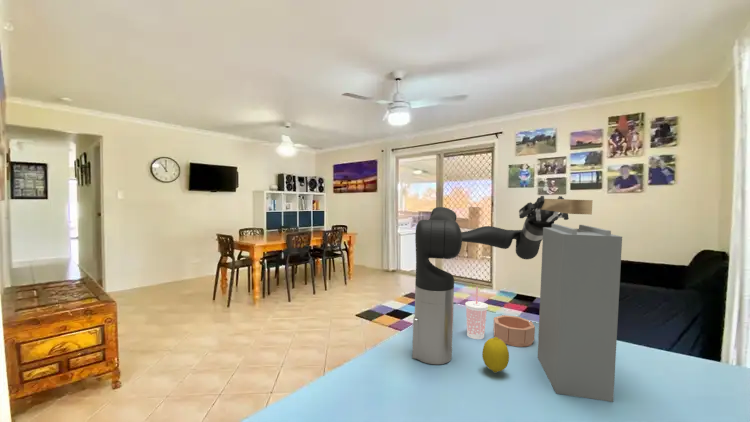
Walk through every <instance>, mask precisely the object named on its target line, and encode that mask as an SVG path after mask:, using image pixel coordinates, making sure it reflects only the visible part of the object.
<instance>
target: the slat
mask: <svg viewBox="0 0 750 422" xmlns="http://www.w3.org/2000/svg"><path fill="white" fill-rule="evenodd" d="M541 209H542V210H549V211H555V212H559V213H560V212H561V213H568V215H569V214H570V215H592V214H593V200H592V199H566V198H564V199H558V198H544V204H543V206H542V208H541Z"/></svg>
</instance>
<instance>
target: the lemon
mask: <svg viewBox="0 0 750 422" xmlns="http://www.w3.org/2000/svg"><path fill="white" fill-rule="evenodd" d="M481 356H482V360H483V363H484V365H485V366H486V368H488V369H489V370H491V371H492V372H493V374H495V373H496V374H497V373H498V372H502V371H504V370H505V369H506V368H507V367H508V365H509V361H510V354H509V348H508V345H507V344H505V343H504V342H503V341H502V340H500V339H498V337H494V336H493V337H491V338H489V339H487V340H486V341H485V342H484V345H483V348H482V355H481Z"/></svg>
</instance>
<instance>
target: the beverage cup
mask: <svg viewBox="0 0 750 422" xmlns="http://www.w3.org/2000/svg"><path fill="white" fill-rule="evenodd" d="M478 299H479V286H475V300H468V301H465V303H464V304H465V306H464V307H465V309H466V335H467V337H469V338H470V339H473V340H482V339H485V332H486V321H487V312H488V311H487V310H488V308H489V305H488V303H486V302H483V301H478Z"/></svg>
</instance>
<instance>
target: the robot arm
mask: <svg viewBox="0 0 750 422" xmlns="http://www.w3.org/2000/svg"><path fill="white" fill-rule="evenodd" d="M544 199H545V196H544V195H540V197H537V199H536V201H535V202H534V203H532V202H527V203H526V204H525V205H523V207H521V208H520V209H519V210H518V216H519V219H524V218H525V220H524V222H523V225H522V229H505V228H501V227H496V226H492V225H486V226H485V225H484V226H480V227H477V228H474V229H471V230H467V231H461V227H460V225H459V223H458V222H457V214H456V212H455V211H453V209H450V208H448V207H444V206H438V207H435V208H433V209H432V211H431V213H430V217H429V219H420V220H419V221H418V222H417V224H416V226H415V234H414V236H415V240H414V241H415V280H414V281H415V284H414V285H415V287H414V288H415V289H414V290H415V291H414V316H413V320H412V321H413V323H412V350H411V351H412V353H411V354H412V359H415V360H418V361H420V362H422V363H425V364H430V365H443V364H447V363H449V362H451V360H452V358H453V354H452V353H453V332H454V331H453V329H454V327H453V326H454V300H455V299H454V295H455V293H454V292H455V277H454V275H453V274H451V273H450V272H449V271H445V270H443V269H441V268H439V267H437V266H435V265H434V264H433V263H432V262H431V261H430V259H441V260H442V259H444V260H451V259H455V258H456V257H458V256H459V255H460V252H461V249H462V245H463V243H464V242H465V243H471V244H472V243H473V244H480V245H486V246H490V247H493V248H500V249H502V250H506V249H509V248H510V247H511V245H512V242H513V240H515V254H516V256H518V257H519V259H522V260H532V259H534V258H535V257H536V256H537V255H538V254H539V249H540V247H541V242H543V227H546V228H552V224H555V222H556V221H557V220H559V219H561V218H562V219H563V220H565V221H567V220H569V214H568V213H561V212H555V211H549V210H542V209H541V208H542V206H543V204H544ZM557 199H565V198H564V197H563V196H562V195H560V196H559V195H558V197H557Z"/></svg>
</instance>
